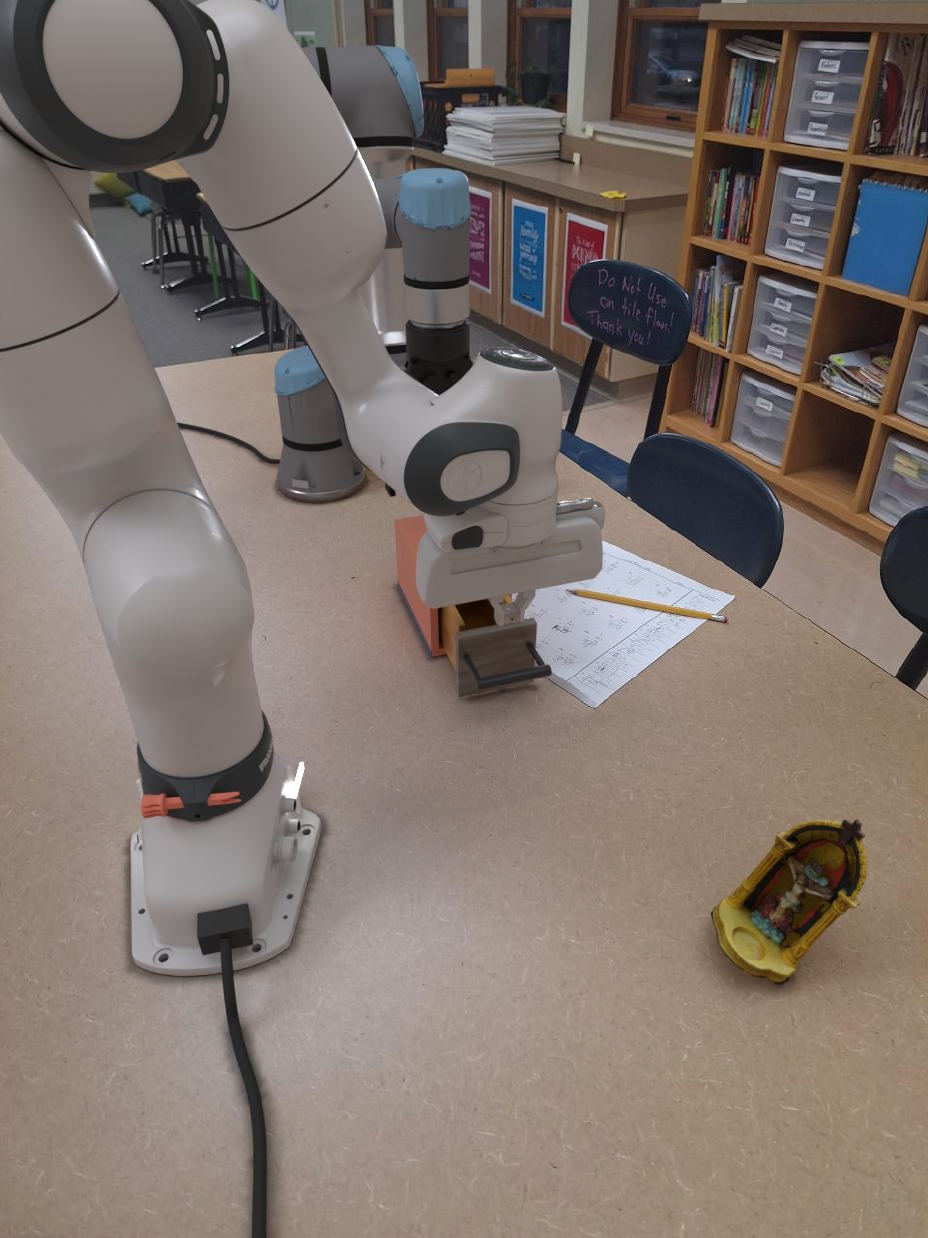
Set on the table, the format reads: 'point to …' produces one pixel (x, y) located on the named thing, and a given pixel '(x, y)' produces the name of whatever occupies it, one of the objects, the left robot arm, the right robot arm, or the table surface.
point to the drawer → (488, 648)
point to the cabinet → (406, 553)
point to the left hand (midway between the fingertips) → (509, 621)
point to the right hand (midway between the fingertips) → (440, 484)
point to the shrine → (792, 897)
